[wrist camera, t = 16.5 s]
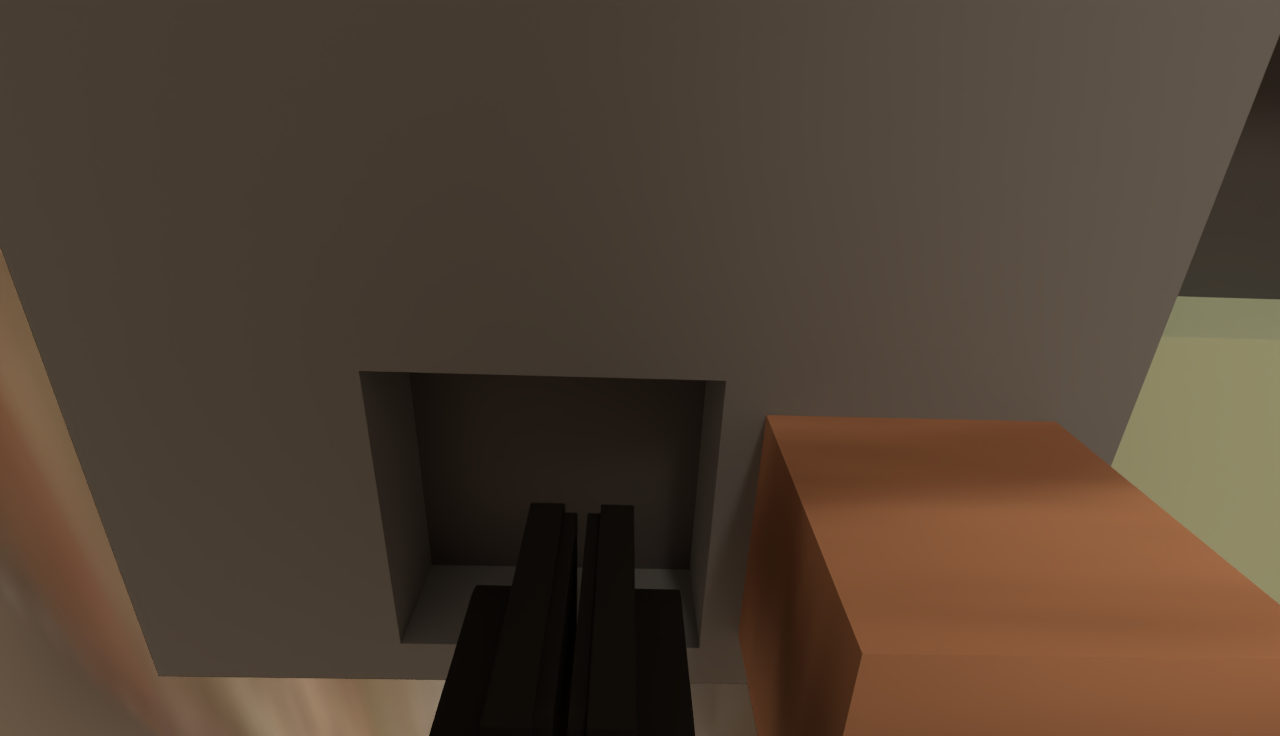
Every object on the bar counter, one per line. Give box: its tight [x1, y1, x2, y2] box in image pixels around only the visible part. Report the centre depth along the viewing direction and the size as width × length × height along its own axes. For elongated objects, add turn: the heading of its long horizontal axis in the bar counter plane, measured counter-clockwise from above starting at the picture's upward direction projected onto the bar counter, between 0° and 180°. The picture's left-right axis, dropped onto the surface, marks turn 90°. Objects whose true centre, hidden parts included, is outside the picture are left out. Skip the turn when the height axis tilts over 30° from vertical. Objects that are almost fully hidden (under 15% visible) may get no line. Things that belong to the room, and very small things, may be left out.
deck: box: [0, 0, 1280, 684], centre depth 11 cm, size 15×27×4 cm, turn 88°
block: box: [738, 415, 1280, 736], centre depth 10 cm, size 5×5×5 cm
